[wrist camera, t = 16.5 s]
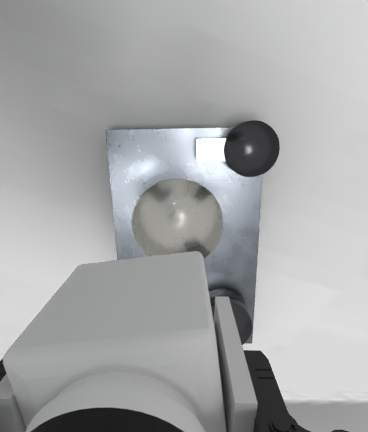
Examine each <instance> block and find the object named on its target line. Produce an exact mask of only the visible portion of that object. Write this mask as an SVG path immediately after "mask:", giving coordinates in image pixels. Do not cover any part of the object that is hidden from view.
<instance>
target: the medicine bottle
mask: <svg viewBox="0 0 368 432" xmlns="http://www.w3.org/2000/svg"><path fill="white" fill-rule="evenodd" d="M3 365H4V368H5V370H6V373H7V376H8V379H9V381H10V384H11V387H12V390H13V392H14V395H15V398H16V401H17V403H18V406H19V409H20V412H21V414H22V417H23V420H24V422H25V425H26V428H27V429H26V431H25V432H227V430H226V422H225V413H224V404H223V395H222V386H221V378H220V369H219V360H218V351H217V343H216V335H215V328H214V322H213V316H212V309H211V303H210V297H209V291H208V284H207V278H206V272H205V266H204V259H203V256H202V254H201V253H200V252H199V251H192V252H184V253H175V254H167V255H158V256H150V257H141V258H133V259H124V260H116V261H107V262H99V263H90V264H82V265H80V266H78V267H77V268H76V269H75V270H74V272H73V273H72V274H71V275H70V276H69V278H68V279H67V280H66V281H65V282H64V284H63V285H62V286H61V287H60V288H59V290H58V291H57V292H56V293H55V294H54V296H53V297H52V298H51V299H50V300H49V301H48V303H47V304H46V305H45V306H44V307H43V309H42V310H41V311H40V312H39V313H38V315H37V316H36V317H35V318H34V319H33V321H32V322H31V323H30V324H29V325H28V327H27V328H26V329H25V330H24V331H23V333H22V334H21V335H20V336H19V337H18V339H17V340H16V341H15V342H14V343H13V345H12V346H11V347H10V348H9V349H8V351H7V352H6V353H5V355H4V357H3Z"/></svg>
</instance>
